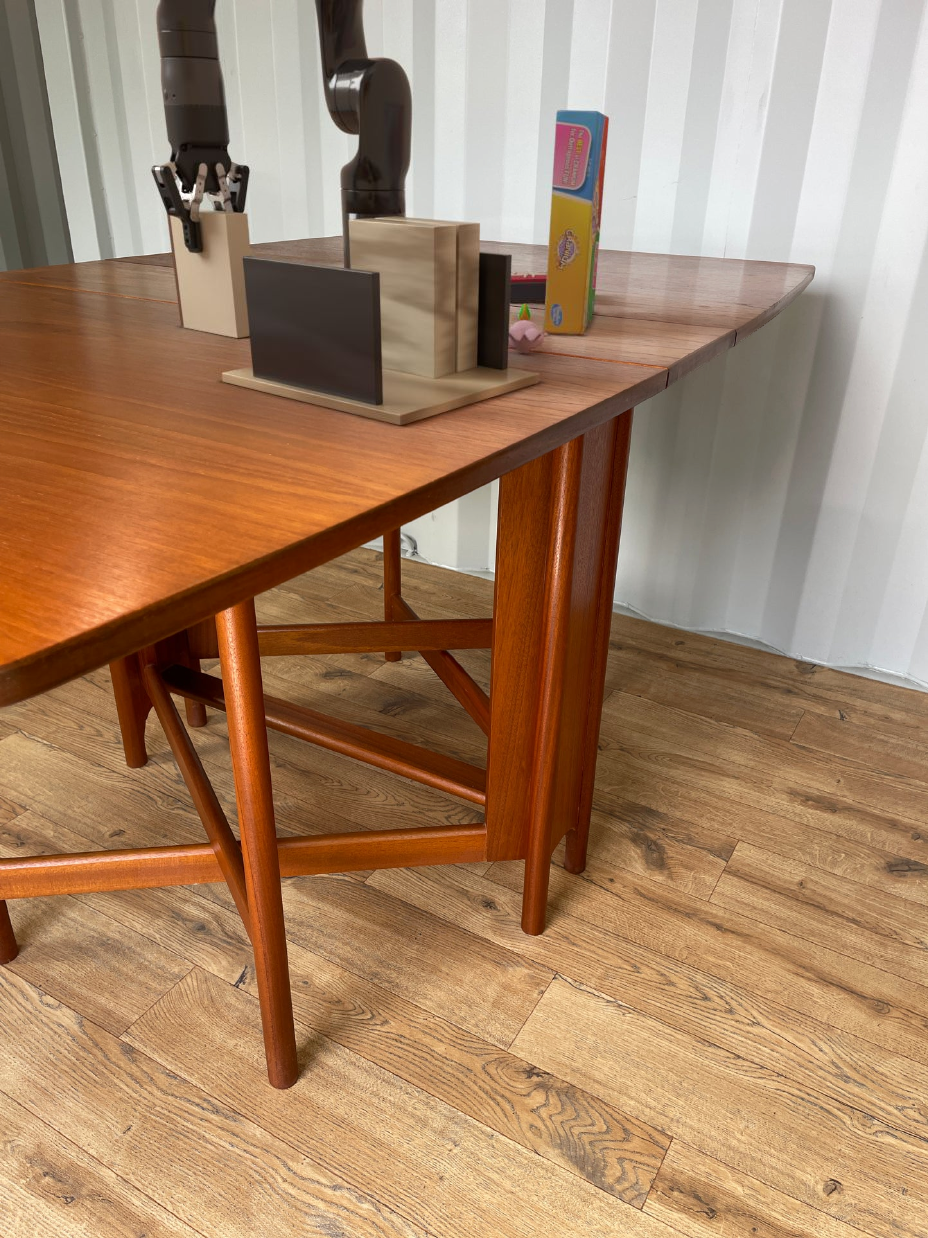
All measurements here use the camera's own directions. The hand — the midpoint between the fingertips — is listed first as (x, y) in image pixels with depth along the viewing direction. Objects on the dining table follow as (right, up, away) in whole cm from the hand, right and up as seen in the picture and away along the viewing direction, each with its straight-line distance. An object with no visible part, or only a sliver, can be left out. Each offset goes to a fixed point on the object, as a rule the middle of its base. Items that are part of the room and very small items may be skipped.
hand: (210, 250), depth 121 cm
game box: (+49, -5, +15) cm, 52 cm away
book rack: (+24, -23, -20) cm, 39 cm away
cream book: (0, -9, +5) cm, 10 cm away
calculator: (+47, +6, +35) cm, 58 cm away
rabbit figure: (+41, -15, -4) cm, 44 cm away
